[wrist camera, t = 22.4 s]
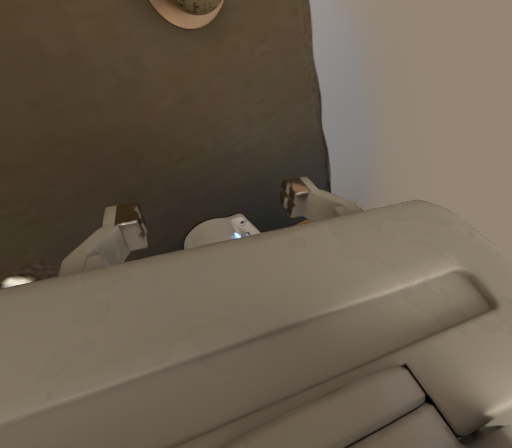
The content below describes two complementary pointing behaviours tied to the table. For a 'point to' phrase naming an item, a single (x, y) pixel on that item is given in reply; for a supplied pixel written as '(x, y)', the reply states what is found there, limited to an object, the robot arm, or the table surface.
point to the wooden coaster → (182, 14)
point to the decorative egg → (197, 6)
